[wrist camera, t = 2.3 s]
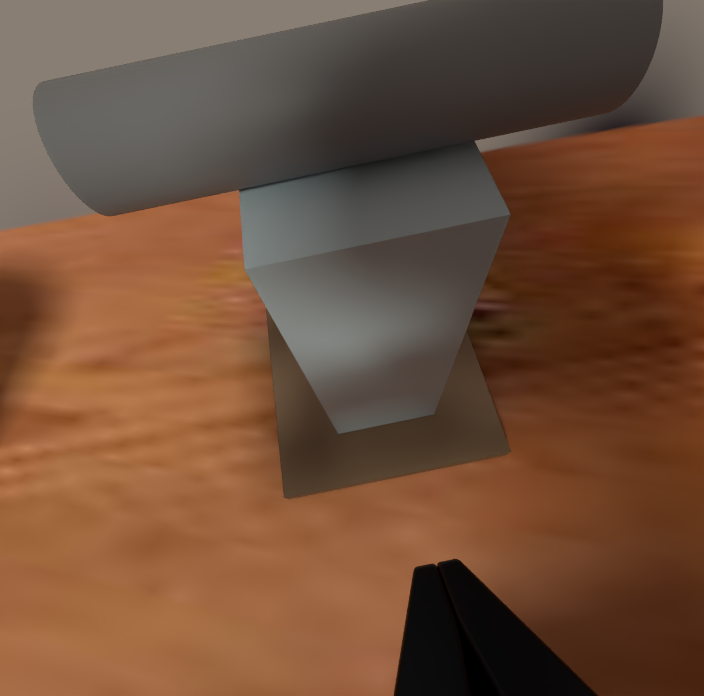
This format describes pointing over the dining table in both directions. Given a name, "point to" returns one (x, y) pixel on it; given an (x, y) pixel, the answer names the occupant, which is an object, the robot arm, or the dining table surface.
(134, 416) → the dining table surface
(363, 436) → the tan base plate
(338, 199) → the grey t-shaped piece
